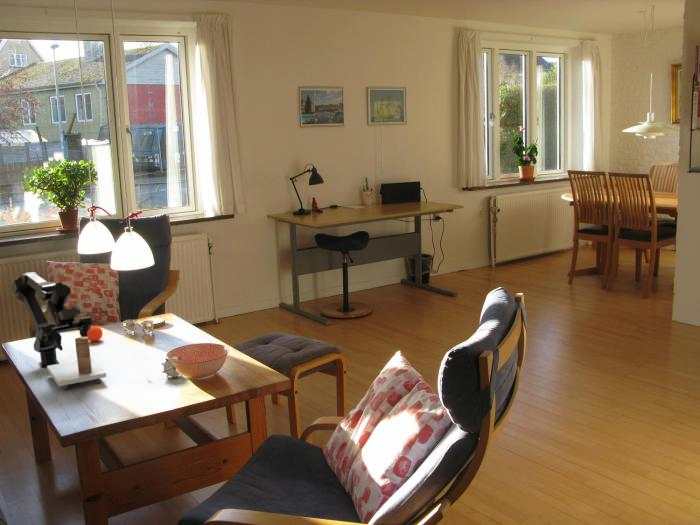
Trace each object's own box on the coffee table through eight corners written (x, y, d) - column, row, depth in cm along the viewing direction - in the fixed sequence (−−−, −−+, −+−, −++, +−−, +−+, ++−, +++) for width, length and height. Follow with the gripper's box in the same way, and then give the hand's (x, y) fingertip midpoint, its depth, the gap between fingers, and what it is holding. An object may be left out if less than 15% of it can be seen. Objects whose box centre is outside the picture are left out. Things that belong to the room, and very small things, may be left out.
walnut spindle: (80, 371, 256) (76, 337, 254) (92, 370, 256) (89, 336, 254) (77, 374, 251) (73, 340, 249) (90, 373, 252) (86, 339, 250)
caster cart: (48, 376, 263) (46, 365, 263) (92, 367, 272) (91, 357, 271) (59, 393, 245) (58, 382, 244) (107, 383, 253) (106, 372, 253)
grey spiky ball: (172, 388, 257) (155, 372, 251) (170, 374, 264) (154, 357, 258) (193, 376, 257) (177, 359, 251) (191, 361, 264) (175, 344, 258)
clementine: (80, 343, 306) (79, 327, 305) (91, 338, 313) (89, 322, 311) (96, 344, 304) (95, 327, 302) (106, 339, 310) (105, 323, 309)
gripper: (37, 304, 252) (53, 340, 246) (88, 295, 265) (104, 329, 259) (31, 322, 259) (46, 357, 253) (81, 312, 272) (97, 345, 266)
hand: (74, 347), depth 257 cm, fingers open, 9 cm apart
